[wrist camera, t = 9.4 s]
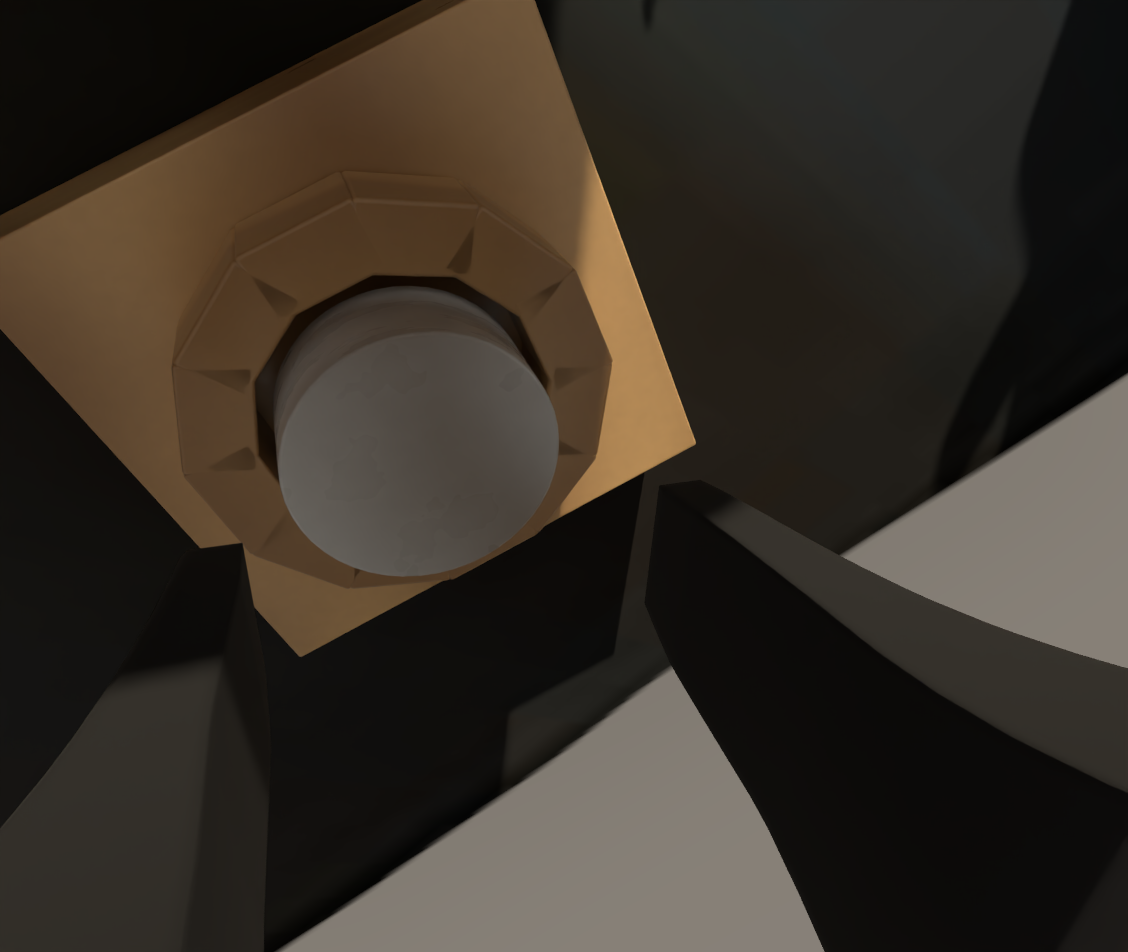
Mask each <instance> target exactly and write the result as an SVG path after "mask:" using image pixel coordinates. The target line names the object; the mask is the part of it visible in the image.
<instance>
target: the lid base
mask: <svg viewBox="0 0 1128 952" xmlns="http://www.w3.org/2000/svg"><path fill="white" fill-rule="evenodd" d="M393 286H419V287H429V288H434V289H438V290H443V291H447V292H449V293H452V294H455V295H458V296H460V297H462V298H464V299H466V300H468V301H470V302H472V303H474V304H476V305H477V306H479V307H480V308H481V309H483V310H484V311H486V312H487V313H488V314H490V315H491V316H492V317H493V318H494V319H495V320H496V321H497V322H498V323H499V324H500V325H501V326H502V328H503V329H504V330H505V331H506V333H507V334H508V335H509V336H510V338H511V339H512V341H513V342H514V344H515V345H516V347H517V348H518V350H519V351H520V353H521V354H522V356H523V357H524V359H525V360H526V362H527V363H528V365H529V366H530V368H531V369H532V370H533V372H534V373H535V375H536V376H537V378H538V379H539V381H540V382H541V384H542V386H543V387H544V389H545V391H546V393H547V394H548V396H549V398H550V401H551V403H552V406H553V408H554V411H555V415H556V420H557V424H558V433H559V450H558V459H557V464H556V469H555V473H554V476H553V479H552V482H551V484H550V487H549V489H548V491H547V493H546V495H545V497H544V499H543V501H542V503H541V504H540V506H539V507H538V509H537V510H536V512H535V513H534V515H533V516H532V517H531V518H530V519H529V520H528V522H527V523H526V524H525V525H524V526H523V527H522V528H521V529H520V530H519V531H518V532H517V533H516V534H515V535H514V536H513V537H512V538H511V539H509V540H508V541H507V542H505V543H504V544H503V545H501V546H500V547H499V548H497V549H496V550H494V551H492V552H491V553H489V554H487V555H486V556H484V557H482V558H480V559H478V560H476V561H474V562H471V563H469V564H467V565H464V566H461V567H458V568H456V569H453V570H449V571H445V572H441V573H437V574H430V575H423V576H404V577H402V576H388V575H381V574H376V573H370V572H367V571H363V570H360V569H357V568H354V567H351V566H349V565H347V564H345V563H342V562H340V561H338V560H336V559H335V558H333V557H332V556H330V555H328V554H327V553H325V552H324V551H322V550H321V549H320V548H319V547H318V546H316V545H315V544H314V543H313V542H311V541H310V540H309V538H308V537H307V536H306V535H305V534H304V533H303V532H302V531H301V530H300V528H299V527H298V525H297V524H296V522H295V521H294V520H293V518H292V517H291V515H290V513H289V510H288V508H287V506H286V504H285V502H284V499H283V495H282V492H281V488H280V483H279V475H278V466H277V454H276V443H275V431H274V419H273V394H274V389H275V384H276V379H277V376H278V373H279V370H280V367H281V364H282V362H283V360H284V359H285V357H286V355H287V353H288V351H289V349H290V348H291V346H292V345H293V344H294V342H295V341H296V339H297V338H298V337H299V335H300V334H301V333H302V332H303V331H304V330H305V329H306V328H307V327H308V326H309V325H310V324H311V323H312V322H313V321H314V320H315V319H317V318H318V317H319V316H320V315H322V314H323V313H324V312H325V311H327V310H329V309H330V308H332V307H334V306H335V305H337V304H338V303H340V302H342V301H344V300H347V299H349V298H351V297H353V296H356V295H358V294H362V293H365V292H368V291H371V290H375V289H381V288H387V287H393ZM0 329H1V330H2V331H3V332H4V334H5V335H6V336H7V337H8V338H9V339H10V340H11V341H12V342H13V343H14V345H15V346H16V347H17V348H18V349H19V350H20V351H21V352H22V353H23V354H24V355H25V357H26V358H27V359H28V360H29V361H30V362H31V363H32V364H33V365H34V366H35V368H36V369H37V370H38V371H39V372H40V373H41V374H42V375H43V376H44V377H45V378H46V380H47V381H48V382H49V383H50V384H51V385H52V386H53V387H54V388H55V389H56V391H57V392H58V393H59V394H60V395H61V396H62V397H63V398H64V399H65V400H66V401H67V403H68V404H69V405H70V406H71V407H72V408H73V409H74V410H75V411H76V412H77V414H78V415H79V416H80V417H81V418H82V419H83V420H84V421H85V422H86V423H87V424H88V426H89V427H90V428H91V429H92V430H93V431H94V432H95V433H96V434H97V435H98V437H99V438H100V439H101V440H102V441H103V442H104V443H105V444H106V445H107V446H108V447H109V449H110V450H111V451H112V452H113V453H114V454H115V455H116V456H117V457H118V458H119V460H120V461H121V462H122V463H123V464H124V465H125V466H126V467H127V468H128V469H129V470H130V472H131V473H132V474H133V475H134V476H135V477H136V478H137V479H138V480H139V481H140V483H141V484H142V485H143V486H144V487H145V488H146V489H147V490H148V491H149V492H150V493H151V495H152V496H153V497H154V498H155V499H156V500H157V501H158V502H159V503H160V504H161V506H162V507H163V508H164V509H165V510H166V511H167V512H168V513H169V514H170V515H171V516H172V518H173V519H174V520H175V521H176V522H177V523H178V524H179V525H180V526H181V527H182V529H183V530H184V531H185V532H186V533H187V534H188V535H189V536H190V537H191V538H192V539H193V541H194V542H195V543H196V544H197V545H198V546H199V547H200V548H207V547H214V546H221V545H229V544H236V543H243V548H244V553H245V559H246V565H247V570H248V576H249V581H250V587H251V592H252V598H253V604H254V607H255V609H256V610H257V611H258V612H259V613H260V614H261V615H262V616H263V617H264V618H265V619H266V621H267V622H268V623H269V624H270V625H271V626H272V627H273V628H274V629H275V630H276V632H277V633H278V634H279V635H280V636H281V637H282V638H283V639H284V640H285V641H286V642H287V644H288V645H289V646H290V647H291V648H292V649H293V650H294V651H295V652H296V653H297V655H298V656H299V657H302V656H304V655H306V654H308V653H310V652H311V651H313V650H315V649H317V648H319V647H321V646H323V645H324V644H326V643H328V642H330V641H332V640H334V639H336V638H337V637H339V636H341V635H343V634H345V633H347V632H349V631H350V630H352V629H354V628H356V627H358V626H360V625H361V624H363V623H365V622H367V621H369V620H371V619H373V618H374V617H376V616H378V615H380V614H382V613H384V612H386V611H387V610H389V609H391V608H393V607H395V606H397V605H399V604H400V603H402V602H404V601H406V600H408V599H410V598H412V597H413V596H415V595H417V594H419V593H421V592H423V591H425V590H426V589H428V588H430V587H432V586H434V585H436V584H438V583H439V582H441V581H445V580H449V579H455V578H457V577H459V576H460V575H462V574H464V573H466V572H468V571H470V570H472V569H473V568H475V567H477V566H479V565H481V564H483V563H485V562H486V561H488V560H490V559H492V558H494V557H496V556H498V555H499V554H501V553H503V552H505V551H507V550H509V549H511V548H512V547H514V546H516V545H518V544H520V543H522V542H524V541H525V540H527V539H529V538H531V537H533V536H535V535H536V534H537V533H538V532H540V531H541V530H542V528H543V527H544V526H545V525H547V524H549V523H551V522H553V521H554V520H556V519H558V518H560V517H562V516H564V515H566V514H567V513H569V512H571V511H573V510H575V509H577V508H579V507H580V506H582V505H584V504H586V503H588V502H590V501H592V500H593V499H595V498H597V497H599V496H601V495H603V494H605V493H606V492H608V491H610V490H612V489H614V488H616V487H618V486H619V485H621V484H623V483H625V482H627V481H629V480H630V479H632V478H634V477H636V476H638V475H640V474H642V473H643V472H645V471H647V470H649V469H651V468H653V467H655V466H656V465H658V464H660V463H662V462H664V461H666V460H668V459H669V458H671V457H673V456H675V455H677V454H679V453H681V452H682V451H684V450H686V449H688V448H690V447H692V446H694V445H695V444H696V442H695V439H694V436H693V433H692V431H691V428H690V425H689V423H688V420H687V417H686V414H685V412H684V409H683V406H682V403H681V401H680V398H679V395H678V392H677V390H676V387H675V384H674V381H673V379H672V376H671V373H670V370H669V368H668V365H667V362H666V359H665V357H664V354H663V351H662V348H661V346H660V343H659V340H658V337H657V335H656V332H655V329H654V326H653V324H652V321H651V318H650V315H649V313H648V310H647V307H646V304H645V302H644V299H643V296H642V293H641V291H640V288H639V285H638V282H637V280H636V277H635V274H634V271H633V269H632V266H631V263H630V260H629V258H628V255H627V252H626V249H625V247H624V244H623V241H622V238H621V236H620V233H619V230H618V228H617V225H616V222H615V219H614V217H613V214H612V211H611V208H610V206H609V203H608V200H607V197H606V195H605V192H604V189H603V186H602V184H601V181H600V178H599V175H598V173H597V170H596V167H595V164H594V162H593V159H592V156H591V153H590V151H589V148H588V145H587V142H586V140H585V137H584V134H583V131H582V129H581V126H580V123H579V120H578V118H577V115H576V112H575V109H574V107H573V104H572V101H571V98H570V96H569V93H568V90H567V87H566V85H565V82H564V79H563V76H562V74H561V71H560V68H559V65H558V63H557V60H556V57H555V54H554V52H553V49H552V46H551V43H550V41H549V38H548V35H547V32H546V30H545V27H544V24H543V22H542V19H541V16H540V13H539V11H538V8H537V5H536V2H535V0H422V1H420V2H418V3H416V4H414V5H412V6H410V7H408V8H406V9H404V10H402V11H400V12H398V13H396V14H394V15H392V16H390V17H388V18H386V19H384V20H382V21H380V22H379V23H377V24H375V25H373V26H371V27H369V28H367V29H365V30H363V31H361V32H359V33H357V34H355V35H353V36H351V37H349V38H347V39H345V40H343V41H341V42H339V43H337V44H335V45H333V46H331V47H330V48H328V49H326V50H324V51H322V52H320V53H318V54H316V55H314V56H312V57H310V58H308V59H306V60H304V61H302V62H300V63H298V64H296V65H294V66H292V67H290V68H288V69H286V70H284V71H282V72H281V73H279V74H277V75H275V76H273V77H271V78H269V79H267V80H265V81H263V82H261V83H259V84H257V85H255V86H253V87H251V88H249V89H247V90H245V91H243V92H241V93H239V94H237V95H235V96H233V97H232V98H230V99H228V100H226V101H224V102H222V103H220V104H218V105H216V106H214V107H212V108H210V109H208V110H206V111H204V112H202V113H200V114H198V115H196V116H194V117H192V118H190V119H188V120H186V121H184V122H183V123H181V124H179V125H177V126H175V127H173V128H171V129H169V130H167V131H165V132H163V133H161V134H159V135H157V136H155V137H153V138H151V139H149V140H147V141H145V142H143V143H141V144H139V145H137V146H135V147H134V148H132V149H130V150H128V151H126V152H124V153H122V154H120V155H118V156H116V157H114V158H112V159H110V160H108V161H106V162H104V163H102V164H100V165H98V166H96V167H94V168H92V169H90V170H88V171H86V172H85V173H83V174H81V175H79V176H77V177H75V178H73V179H71V180H69V181H67V182H65V183H63V184H61V185H59V186H57V187H55V188H53V189H51V190H49V191H47V192H45V193H43V194H41V195H39V196H37V197H36V198H34V199H32V200H30V201H28V202H26V203H24V204H22V205H20V206H18V207H16V208H14V209H12V210H10V211H8V212H6V213H4V214H2V215H0Z"/></svg>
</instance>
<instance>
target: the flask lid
mask: <svg viewBox="0 0 1128 952" xmlns="http://www.w3.org/2000/svg"><path fill="white" fill-rule="evenodd" d="M273 419H274V431H275V443H276V454H277V466H278V475H279V483H280V488H281V492H282V495H283V499H284V502H285V504H286V506H287V508H288V510H289V513H290V515H291V517H292V518H293V520H294V521H295V522H296V524H297V525H298V527H299V528H300V530H301V531H302V532H303V533H304V534H305V535H306V536H307V537H308V538H309V540H310V541H311V542H313V543H314V544H315V545H316V546H318V547H319V548H320V549H321V550H322V551H324V552H325V553H327V554H328V555H330V556H332V557H333V558H335V559H336V560H338V561H340V562H342V563H345V564H347V565H349V566H351V567H354V568H357V569H360V570H363V571H367V572H370V573H376V574H381V575H388V576H402V577H404V576H423V575H430V574H437V573H441V572H445V571H449V570H453V569H456V568H458V567H461V566H464V565H467V564H469V563H471V562H474V561H476V560H478V559H480V558H482V557H484V556H486V555H487V554H489V553H491V552H492V551H494V550H496V549H497V548H499V547H500V546H501V545H503V544H504V543H505V542H507V541H508V540H509V539H511V538H512V537H513V536H514V535H515V534H516V533H517V532H518V531H519V530H520V529H521V528H522V527H523V526H524V525H525V524H526V523H527V522H528V520H529V519H530V518H531V517H532V516H533V515H534V513H535V512H536V510H537V509H538V507H539V506H540V504H541V503H542V501H543V499H544V497H545V495H546V493H547V491H548V489H549V487H550V484H551V482H552V479H553V476H554V473H555V469H556V464H557V459H558V450H559V433H558V424H557V420H556V415H555V411H554V408H553V406H552V403H551V401H550V398H549V396H548V394H547V393H546V391H545V389H544V387H543V386H542V384H541V382H540V381H539V379H538V378H537V376H536V375H535V373H534V372H533V370H532V369H531V368H530V366H529V365H528V363H527V362H526V360H525V359H524V357H523V356H522V354H521V353H520V351H519V350H518V348H517V347H516V345H515V344H514V342H513V341H512V339H511V338H510V336H509V335H508V334H507V333H506V331H505V330H504V329H503V328H502V326H501V325H500V324H499V323H498V322H497V321H496V320H495V319H494V318H493V317H492V316H491V315H490V314H488V313H487V312H486V311H484V310H483V309H481V308H480V307H479V306H477V305H476V304H474V303H472V302H470V301H468V300H466V299H464V298H462V297H460V296H458V295H455V294H452V293H449V292H447V291H443V290H438V289H434V288H429V287H419V286H393V287H387V288H381V289H375V290H371V291H368V292H365V293H362V294H358V295H356V296H353V297H351V298H349V299H347V300H344V301H342V302H340V303H338V304H337V305H335V306H334V307H332V308H330V309H329V310H327V311H325V312H324V313H323V314H322V315H320V316H319V317H318V318H317V319H315V320H314V321H313V322H312V323H311V324H310V325H309V326H308V327H307V328H306V329H305V330H304V331H303V332H302V333H301V334H300V335H299V337H298V338H297V339H296V341H295V342H294V344H293V345H292V346H291V348H290V349H289V351H288V353H287V355H286V357H285V359H284V360H283V362H282V364H281V367H280V370H279V373H278V376H277V379H276V384H275V389H274V394H273Z"/></svg>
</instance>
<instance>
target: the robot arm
mask: <svg viewBox="0 0 1128 952" xmlns="http://www.w3.org/2000/svg"><path fill="white" fill-rule="evenodd" d="M645 605H646V608H647V610H648V612H649V615H650V617H651V620H652V622H653V625H654V627H655V630H656V632H657V634H658V637H659V639H660V641H661V644H662V646H663V648H664V650H665V653H666V655H667V657H668V659H669V662H670V664H671V666H672V667H673V669H674V670H675V673H676V674H677V676H678V678H679V679H680V681H681V683H682V684H683V686H684V688H685V689H686V691H687V693H688V695H689V696H690V698H691V699H692V701H693V703H694V705H695V706H696V708H697V709H698V711H699V713H700V715H701V716H702V718H703V719H704V721H705V723H706V724H707V726H708V728H709V729H710V731H711V732H712V734H713V736H714V738H715V739H716V741H717V742H718V744H719V745H720V747H721V749H722V751H723V752H724V754H725V756H726V757H727V759H728V761H729V762H730V764H731V765H732V767H733V768H734V770H735V772H736V774H737V775H738V777H739V778H740V780H741V782H742V783H743V785H744V787H745V788H746V790H747V792H748V793H749V795H750V796H751V798H752V800H753V802H754V804H755V806H756V807H757V809H758V811H759V813H760V815H761V816H762V818H763V820H764V822H765V824H766V826H767V827H768V830H769V832H770V834H771V836H772V838H773V840H774V842H775V844H776V846H777V848H778V851H779V853H780V855H781V857H782V859H783V861H784V863H785V865H786V867H787V870H788V872H789V874H790V876H791V878H792V880H793V882H794V884H795V886H796V889H797V890H798V893H799V895H800V897H801V899H802V901H803V904H804V906H805V908H806V911H807V913H808V915H809V918H810V920H811V922H812V924H813V927H814V929H815V931H816V933H817V936H818V938H819V940H820V942H821V945H822V947H823V949H824V951H825V952H1128V668H1124V667H1120V666H1117V665H1114V664H1110V663H1107V662H1103V661H1099V660H1096V659H1092V658H1089V657H1086V656H1083V655H1079V654H1076V653H1073V652H1070V651H1067V650H1064V649H1061V648H1058V647H1055V646H1052V645H1049V644H1045V643H1042V642H1040V641H1037V640H1034V639H1030V638H1028V637H1025V636H1022V635H1019V634H1016V633H1013V632H1010V631H1008V630H1005V629H1002V628H999V627H997V626H994V625H991V624H989V623H986V622H983V621H981V620H979V619H976V618H974V617H971V616H969V615H966V614H964V613H961V612H959V611H956V610H954V609H952V608H949V607H947V606H944V605H942V604H939V603H937V602H934V601H932V600H930V599H928V598H925V597H923V596H921V595H919V594H916V593H914V592H912V591H910V590H908V589H905V588H903V587H901V586H899V585H897V584H895V583H893V582H891V581H889V580H887V579H885V578H883V577H881V576H879V575H877V574H875V573H873V572H871V571H868V570H866V569H864V568H862V567H860V566H858V565H857V564H855V563H853V562H851V561H848V560H847V559H845V558H843V557H841V556H839V555H837V554H835V553H834V552H832V551H830V550H828V549H826V548H824V547H822V546H821V545H819V544H817V543H815V542H813V541H812V540H810V539H808V538H806V537H804V536H802V535H801V534H799V533H797V532H795V531H794V530H792V529H790V528H788V527H786V526H785V525H783V524H781V523H779V522H778V521H776V520H774V519H772V518H770V517H769V516H767V515H765V514H763V513H762V512H760V511H758V510H756V509H755V508H753V507H751V506H749V505H747V504H746V503H744V502H742V501H740V500H738V499H737V498H735V497H733V496H731V495H729V494H727V493H726V492H724V491H722V490H720V489H718V488H716V487H714V486H712V485H710V484H708V483H705V482H703V481H701V480H697V481H689V482H682V483H675V484H667V485H660V486H659V492H658V500H657V508H656V516H655V524H654V532H653V540H652V548H651V556H650V564H649V572H648V580H647V588H646V596H645ZM270 765H271V736H270V722H269V708H268V696H267V683H266V670H265V665H264V659H263V654H262V648H261V643H260V637H259V631H258V626H257V620H256V615H255V609H254V604H253V598H252V592H251V587H250V581H249V576H248V570H247V565H246V559H245V553H244V548H243V543H236V544H229V545H221V546H214V547H207V548H200V549H192V550H187V551H186V552H185V553H184V554H183V555H182V557H181V558H180V559H179V560H178V562H177V565H176V567H175V569H174V571H173V573H172V576H171V578H170V580H169V582H168V584H167V586H166V588H165V590H164V592H163V594H162V596H161V598H160V599H159V601H158V603H157V605H156V607H155V609H154V611H153V612H152V614H151V616H150V618H149V620H148V622H147V623H146V625H145V627H144V629H143V630H142V632H141V634H140V635H139V637H138V639H137V640H136V642H135V644H134V645H133V647H132V649H131V650H130V652H129V654H128V655H127V657H126V658H125V660H124V662H123V663H122V665H121V667H120V668H119V670H118V672H117V673H116V675H115V676H114V678H113V680H112V681H111V683H110V684H109V686H108V687H107V689H106V690H105V692H104V693H103V695H102V696H101V697H100V699H99V700H98V702H97V703H96V705H95V706H94V707H93V709H92V710H91V712H90V713H89V715H88V716H87V717H86V719H85V720H84V722H83V723H82V725H81V726H80V728H79V729H78V730H77V732H76V733H75V735H74V736H73V738H72V739H71V740H70V742H69V743H68V745H67V746H66V747H65V749H64V750H63V751H62V753H61V754H60V755H59V756H58V758H57V759H56V760H55V762H54V763H53V764H52V766H51V767H50V768H49V770H48V771H47V772H46V773H45V775H44V776H43V777H42V778H41V780H40V781H39V782H38V783H37V785H36V786H35V787H34V788H33V790H32V791H31V792H30V793H29V794H28V796H27V797H26V798H25V799H24V800H23V802H22V803H21V804H20V805H19V806H18V808H17V809H16V810H15V811H14V812H13V814H12V815H11V816H10V817H9V818H8V820H7V821H6V822H5V823H4V824H3V825H2V827H1V828H0V952H264V909H265V886H266V862H267V839H268V815H269V791H270Z"/></svg>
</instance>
